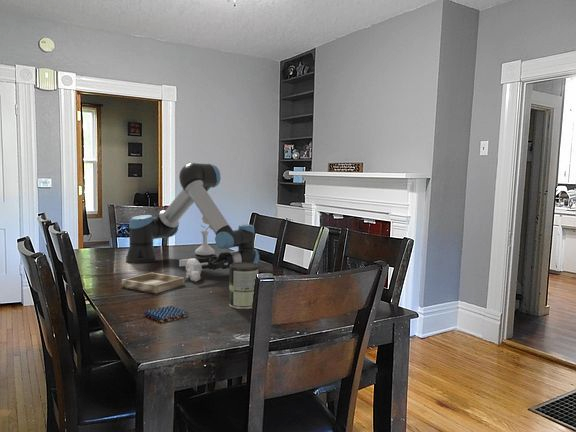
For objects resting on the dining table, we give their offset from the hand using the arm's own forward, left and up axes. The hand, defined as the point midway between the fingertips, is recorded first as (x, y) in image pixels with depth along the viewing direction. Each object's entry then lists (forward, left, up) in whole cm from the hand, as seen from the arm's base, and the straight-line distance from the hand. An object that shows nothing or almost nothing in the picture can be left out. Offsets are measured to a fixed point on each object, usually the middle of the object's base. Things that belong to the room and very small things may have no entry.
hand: (186, 265), depth 185 cm
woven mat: (+26, -40, -7) cm, 49 cm away
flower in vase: (-32, +54, -7) cm, 63 cm away
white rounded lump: (+2, +3, -7) cm, 8 cm away
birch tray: (-5, -14, -7) cm, 17 cm away
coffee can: (+40, -17, -7) cm, 44 cm away
